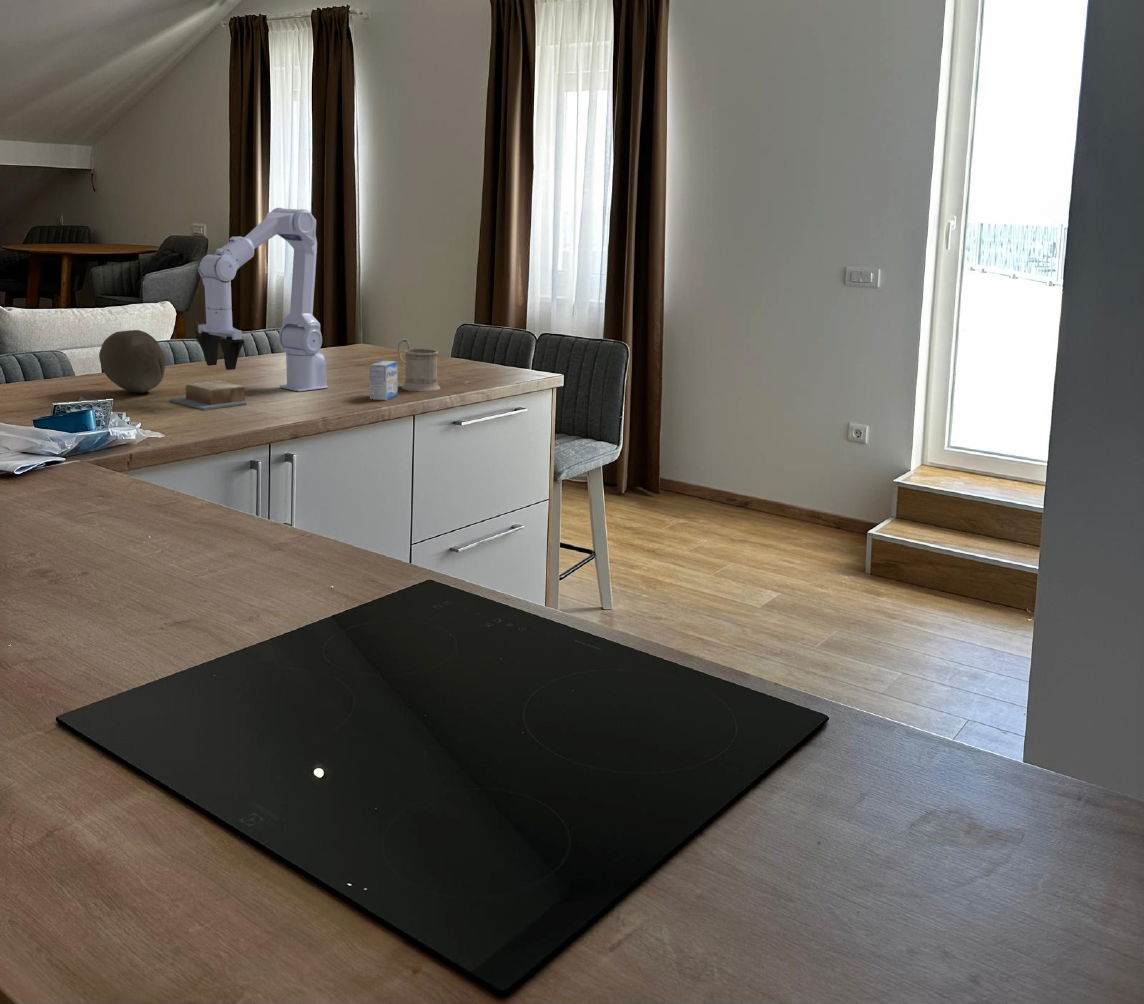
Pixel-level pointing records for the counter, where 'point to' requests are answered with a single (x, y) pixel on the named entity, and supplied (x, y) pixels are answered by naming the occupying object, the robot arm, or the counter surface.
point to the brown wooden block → (215, 392)
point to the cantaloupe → (133, 360)
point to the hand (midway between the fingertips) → (221, 367)
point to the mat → (204, 406)
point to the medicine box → (383, 380)
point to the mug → (420, 368)
